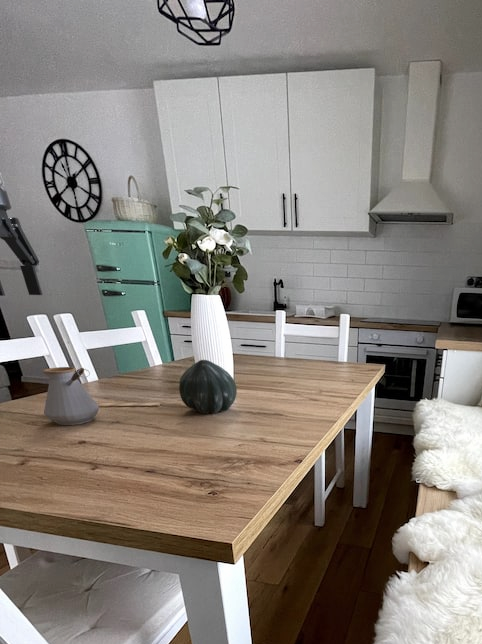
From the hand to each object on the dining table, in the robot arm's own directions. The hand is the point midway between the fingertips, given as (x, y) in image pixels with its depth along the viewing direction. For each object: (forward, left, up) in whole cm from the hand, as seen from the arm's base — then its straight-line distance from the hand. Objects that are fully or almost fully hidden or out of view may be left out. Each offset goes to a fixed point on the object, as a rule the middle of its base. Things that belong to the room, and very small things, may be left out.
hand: (18, 295), depth 93 cm
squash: (+40, +2, -29) cm, 49 cm away
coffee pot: (+12, -10, -29) cm, 33 cm away
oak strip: (+12, +8, -29) cm, 32 cm away
